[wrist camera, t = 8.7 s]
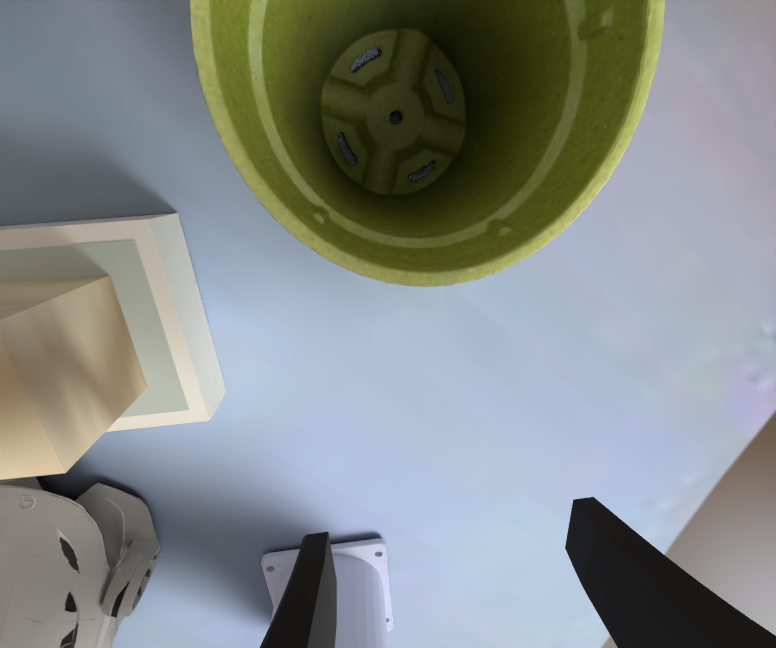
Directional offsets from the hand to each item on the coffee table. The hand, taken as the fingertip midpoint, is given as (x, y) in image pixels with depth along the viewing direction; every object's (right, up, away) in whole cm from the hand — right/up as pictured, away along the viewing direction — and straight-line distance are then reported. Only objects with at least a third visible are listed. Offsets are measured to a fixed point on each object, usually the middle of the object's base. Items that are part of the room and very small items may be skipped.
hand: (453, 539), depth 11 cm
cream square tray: (-15, +7, +7) cm, 18 cm away
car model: (-24, -11, +13) cm, 29 cm away
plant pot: (-2, +15, +5) cm, 16 cm away
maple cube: (-15, +6, +4) cm, 16 cm away
